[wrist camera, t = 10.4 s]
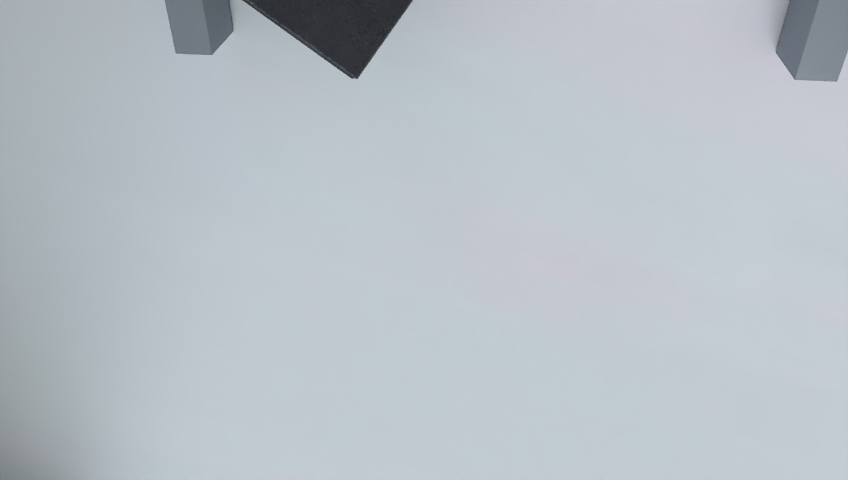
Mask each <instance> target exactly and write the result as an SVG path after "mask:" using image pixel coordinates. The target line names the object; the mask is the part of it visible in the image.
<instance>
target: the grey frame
mask: <svg viewBox="0 0 848 480" xmlns="http://www.w3.org/2000/svg"><path fill="white" fill-rule="evenodd" d="M165 3H166V8H167V13H168V18H169V23H170V27H171V32H172V37H173V42H174V47H175V52H176V53H177V54H201V55H212V54H213V53H214V52H215V51H216V50H217V49H218V48H219V46H220V45H221V44H222V43H223V42H224V41H225V40H226V39H227V38H228V36H229V35H230V34H231V33H232V32H233V26H232V19H231V13H230V6H229V0H165ZM847 51H848V0H790V4H789V7H788V11H787V14H786V18H785V22H784V25H783V29H782V32H781V36H780V39H779V43H778V46H777V50H776V54H777V55H778V56H779V58H780V59H781V61H782V62H783V63H784V65H785V66H786V68H787V69H788V71H789V72H790V73H791V75H792V76H793V78H794V79H795V80H813V81H836V82H837V80H838V77H839V74H840V71H841V68H842V66H843V63H844V60H845V57H846V54H847Z"/></svg>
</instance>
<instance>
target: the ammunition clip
mask: <svg viewBox="0 0 848 480" xmlns="http://www.w3.org/2000/svg"><path fill="white" fill-rule="evenodd" d="M243 1H244V2H246V3H247V4H248V5H250V6H251V7H253V8H254V9H255V10H257V11H258V12H260V13H261V14H262V15H264V16H265V17H267V18H268V19H269V20H271V21H272V22H274V23H275V24H276V25H278V26H279V27H281V28H282V29H283V30H285V31H286V32H287V33H289V34H290V35H292V36H293V37H294V38H296V39H297V40H299V41H300V42H301V43H303V44H304V45H306V46H307V47H308V48H310V49H311V50H313V51H314V52H315V53H317V54H318V55H320V56H321V57H322V58H324V59H325V60H327V61H328V62H329V63H331V64H332V65H333V66H335V67H336V68H338V69H339V70H340V71H342V72H343V73H345V74H346V75H347V76H349V77H350V78H352V79H353V78H355V79H358V77H359V76H360V74H361V73H362V72H363V70H364V69H365V67H366V66H367V65H368V63H369V62H370V60H371V59H372V57H373V56H374V55H375V53H376V52H377V50H378V49H379V47H380V46H381V45H382V43H383V42H384V40H385V39H386V38H387V36H388V35H389V33H390V32H391V30H392V29H393V28H394V26H395V25H396V23H397V22H398V20H399V19H400V18H401V16H402V15H403V13H404V12H405V11H406V9H407V8H408V6H409V5H410V3H411V2H412V1H413V0H243Z"/></svg>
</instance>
